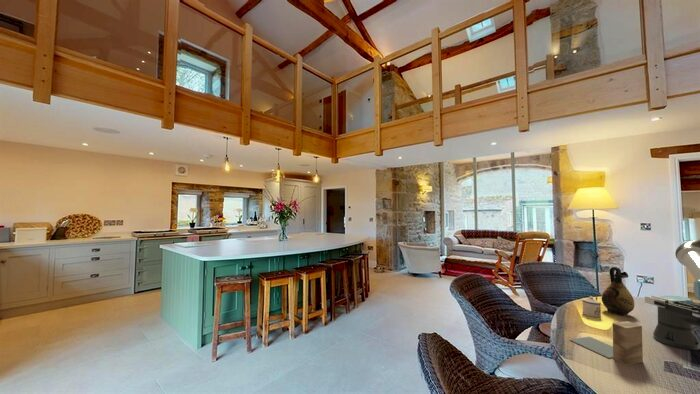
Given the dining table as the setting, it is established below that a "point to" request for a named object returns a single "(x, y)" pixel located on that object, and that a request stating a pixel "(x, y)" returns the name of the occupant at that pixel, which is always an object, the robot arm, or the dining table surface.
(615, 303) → the ceramic jug
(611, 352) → the slate mat
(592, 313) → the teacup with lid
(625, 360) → the walnut slab
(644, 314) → the dining table surface
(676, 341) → the robot arm
